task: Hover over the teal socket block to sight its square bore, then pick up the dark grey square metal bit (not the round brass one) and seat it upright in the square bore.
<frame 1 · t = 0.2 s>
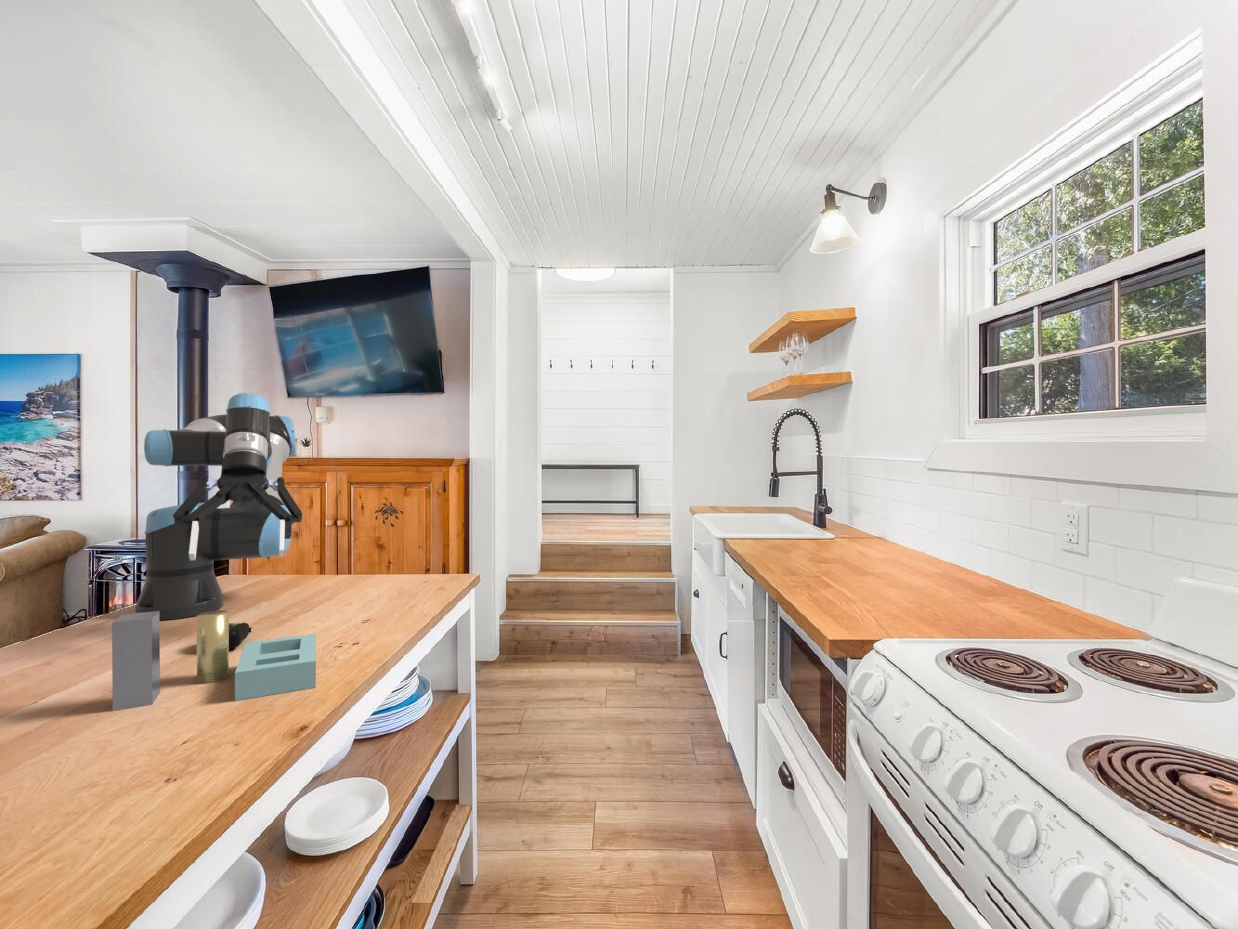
hand: (238, 555, 102), 16 cm above the counter, tool tilted 35°, fingers open, 13 cm apart
round bit: (213, 678, 86), on the counter
socket block: (279, 676, 87), on the counter
square bit: (137, 701, 78), on the counter
tape measure: (228, 648, 100), on the counter
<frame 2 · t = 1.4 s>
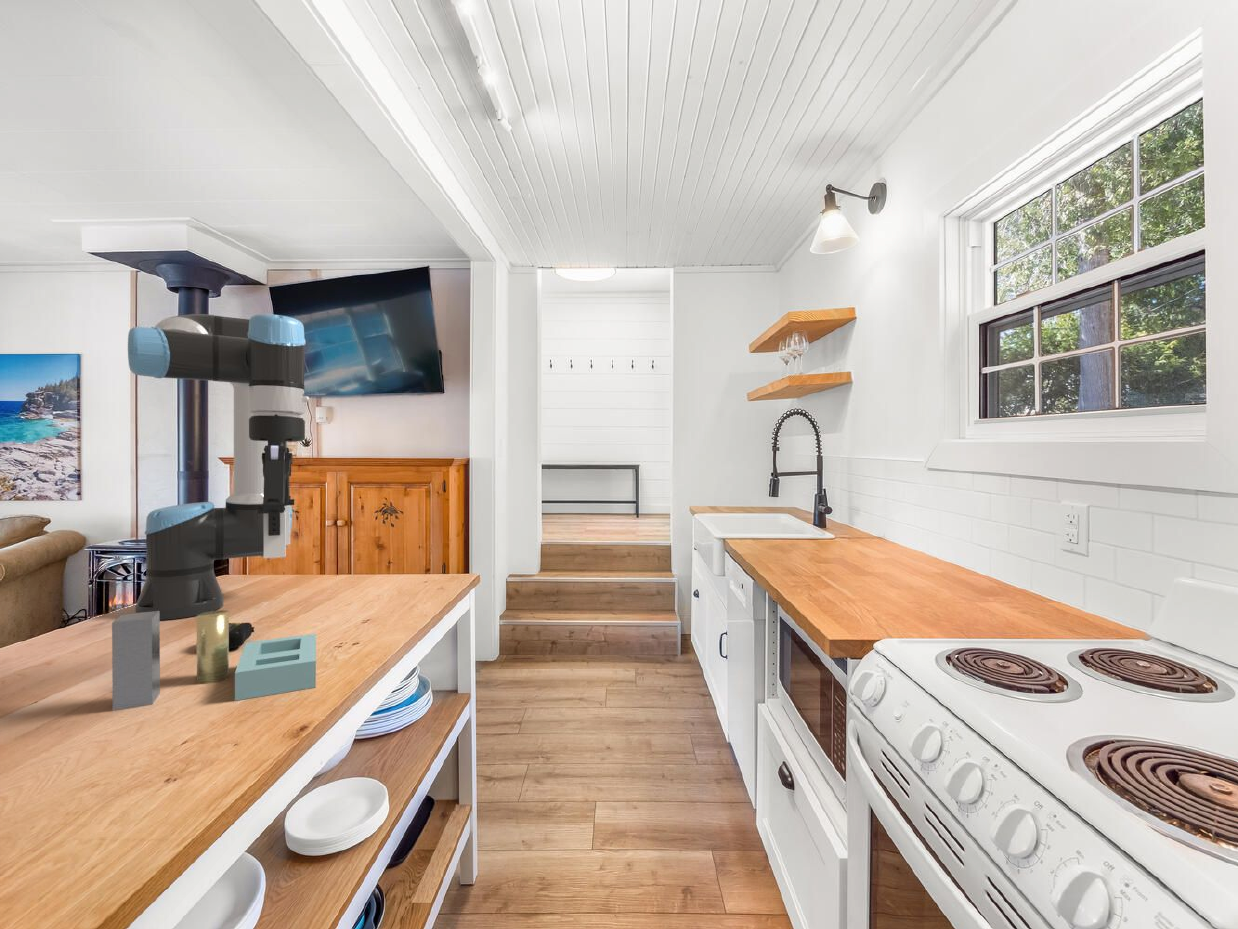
hand: (277, 551, 87), 20 cm above the counter, tool pointing down, fingers open, 13 cm apart
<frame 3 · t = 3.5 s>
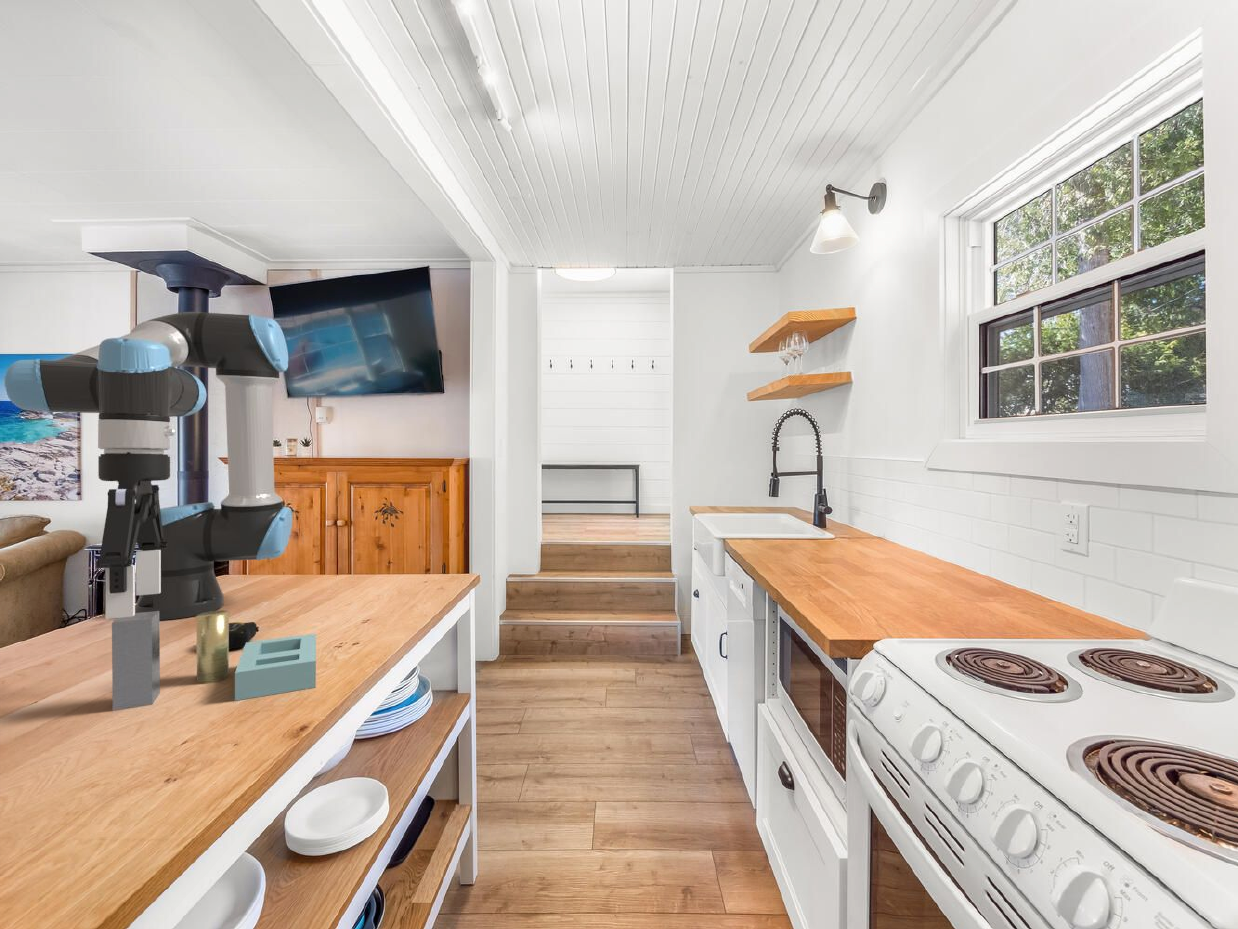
hand: (135, 604, 77), 14 cm above the counter, tool pointing down, fingers open, 13 cm apart
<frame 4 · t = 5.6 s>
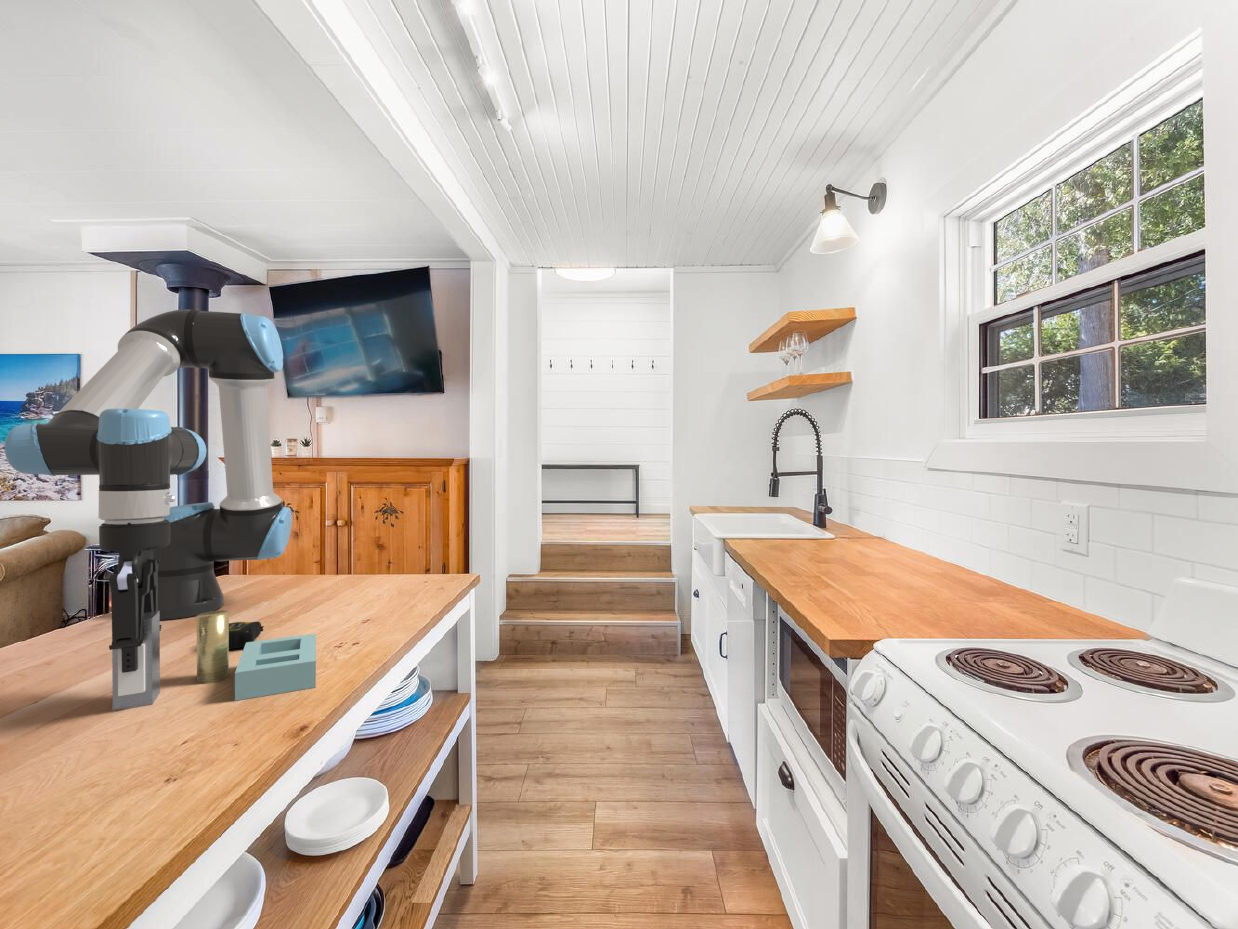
hand: (137, 686, 78), 2 cm above the counter, tool pointing down, fingers closed on square bit, 4 cm apart
square bit: (137, 701, 78), on the counter, touching gripper
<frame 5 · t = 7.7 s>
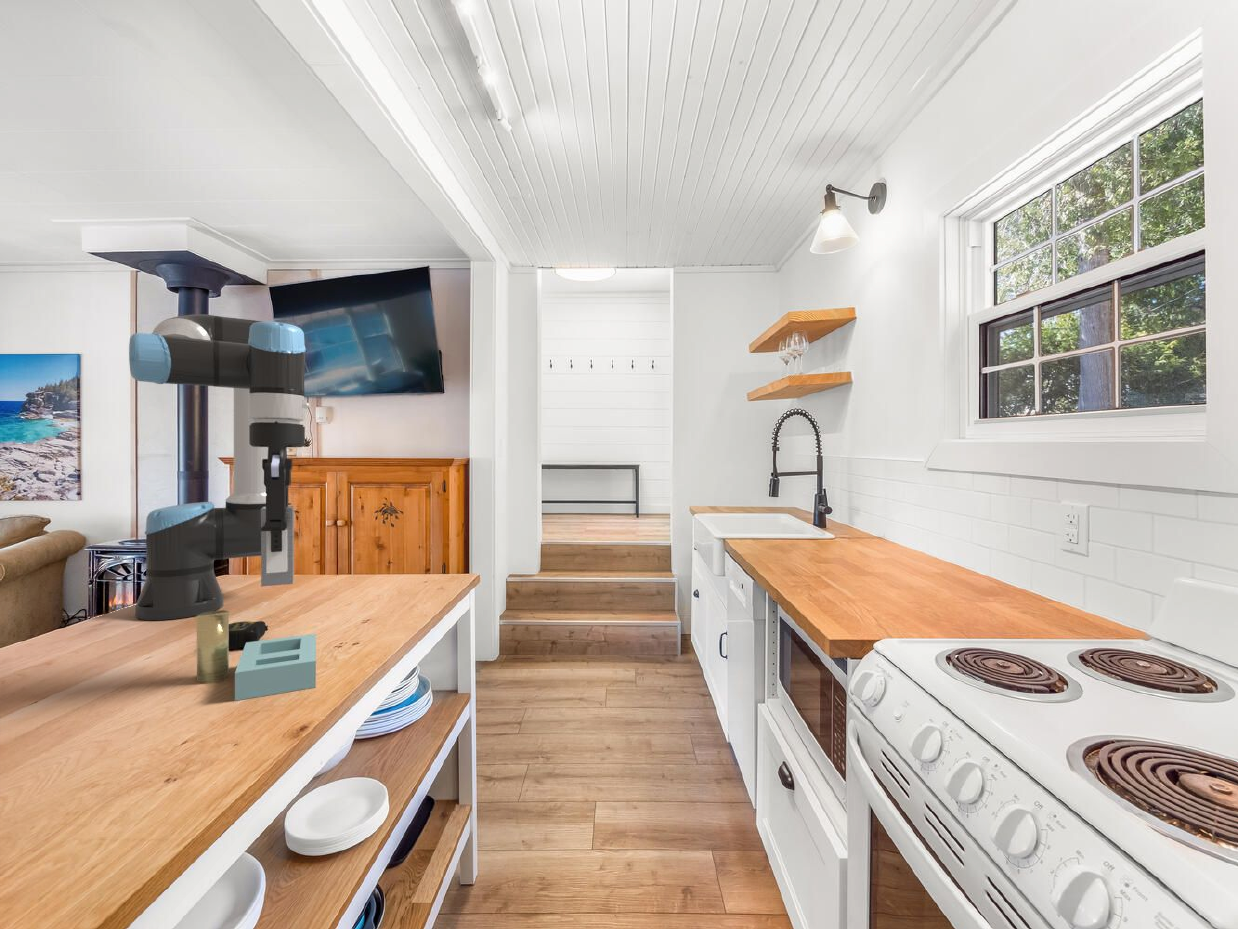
hand: (278, 568, 89), 17 cm above the counter, tool pointing down, fingers closed on square bit, 4 cm apart
square bit: (278, 582, 89), point 14 cm above the counter, touching gripper
when the fingers open (5 cm above the counter, at t = 9.8 s): square bit drops 2 cm, resting in socket block.
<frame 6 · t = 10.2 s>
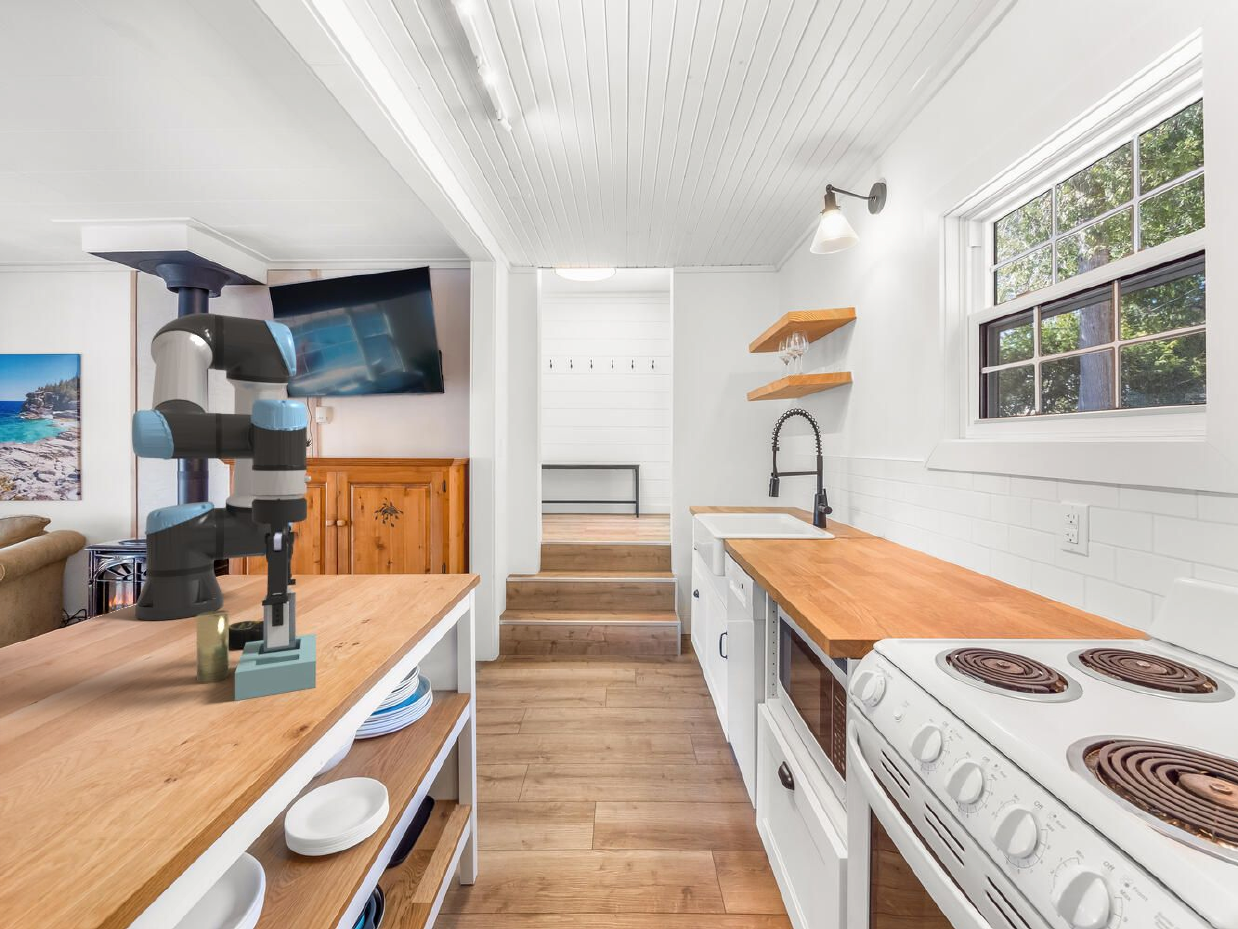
hand: (280, 635, 89), 6 cm above the counter, tool pointing down, fingers open, 10 cm apart
square bit: (280, 671, 89), resting in socket block
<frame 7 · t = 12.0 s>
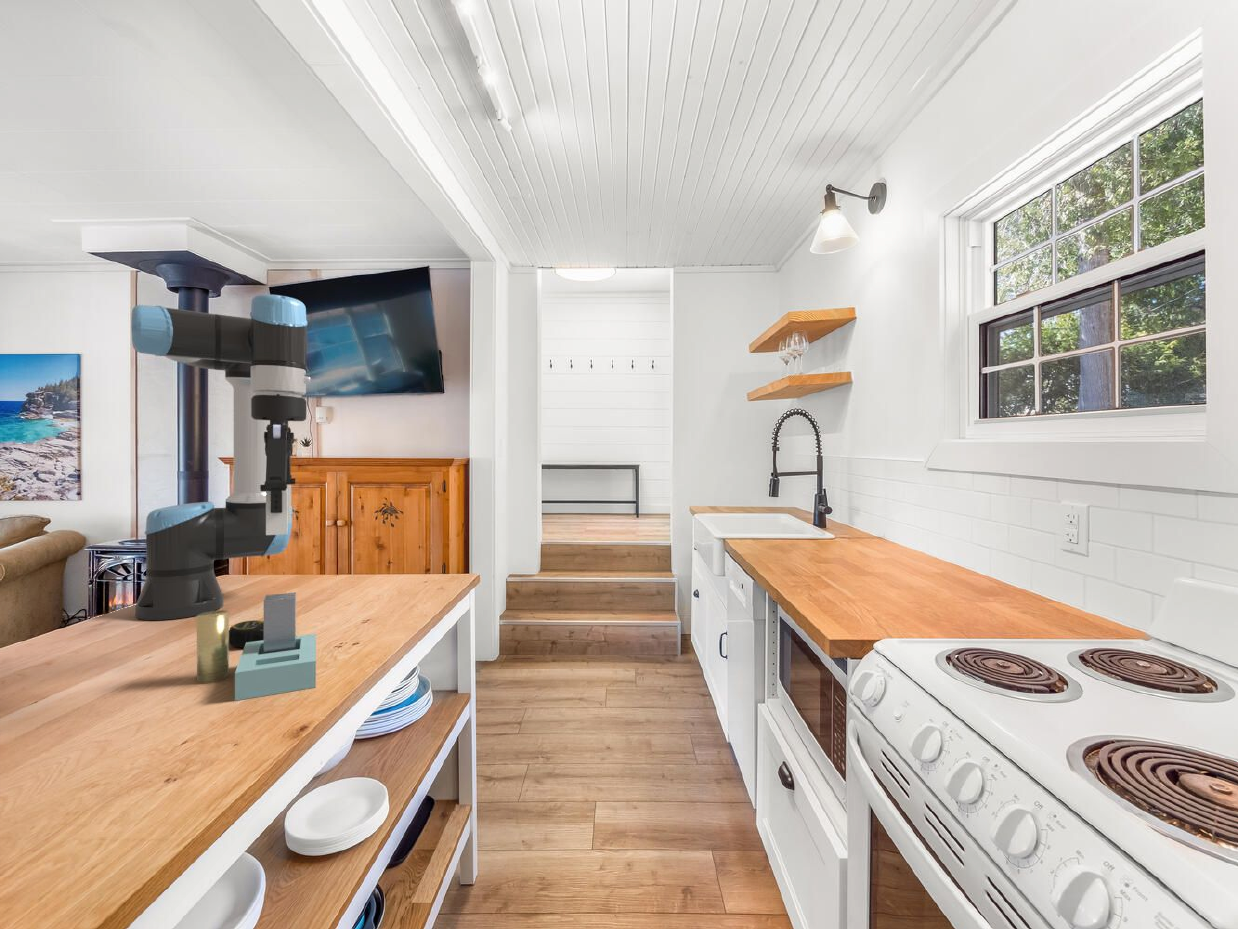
hand: (279, 528, 89), 23 cm above the counter, tool pointing down, fingers open, 13 cm apart
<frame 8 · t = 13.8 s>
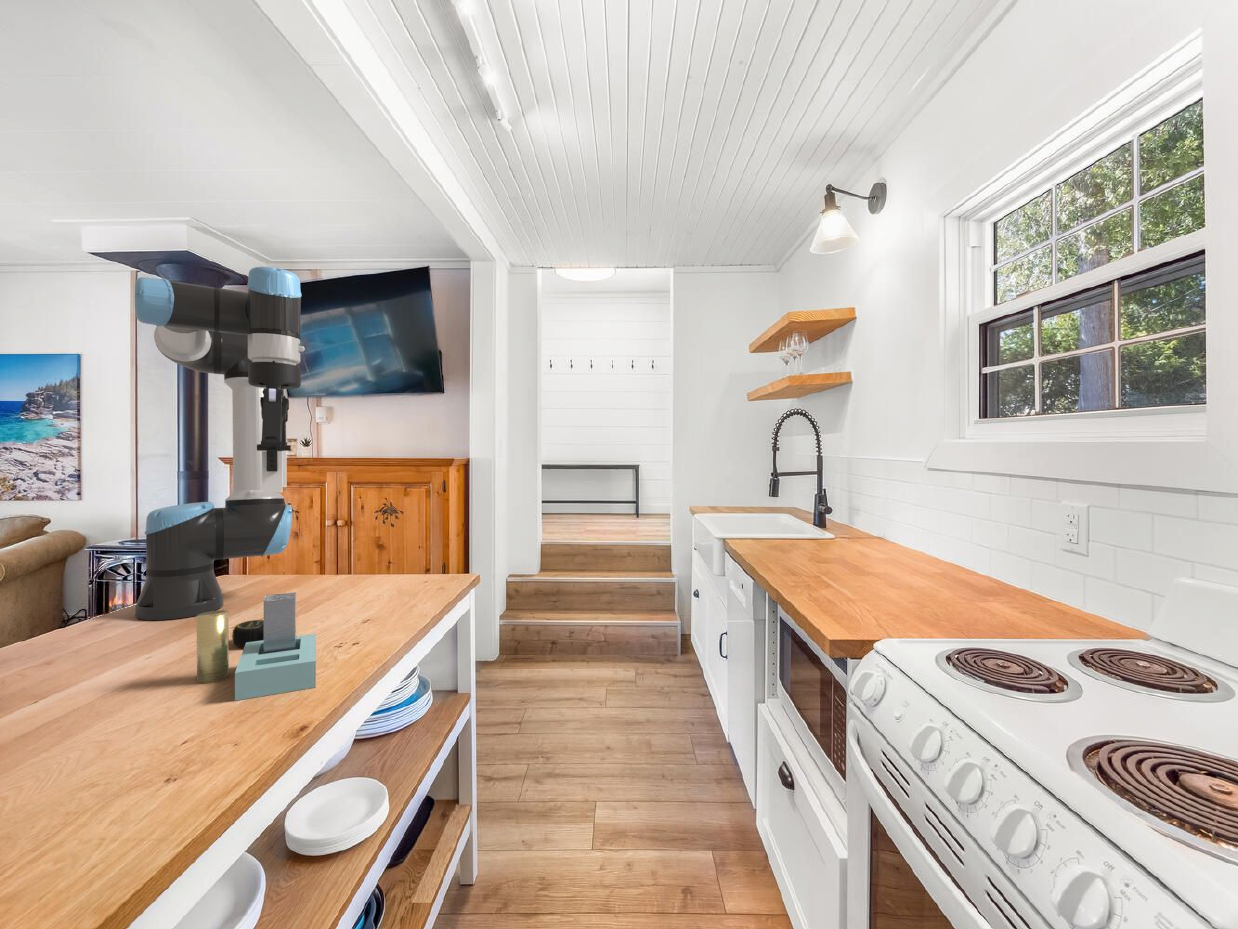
hand: (275, 490, 94), 29 cm above the counter, tool pointing down, fingers open, 13 cm apart
at the end: square bit 0.0 cm from the target spot on the socket block, point 0.0 cm above the socket block's base; square bit tilted 0°; the gripper is holding nothing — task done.
